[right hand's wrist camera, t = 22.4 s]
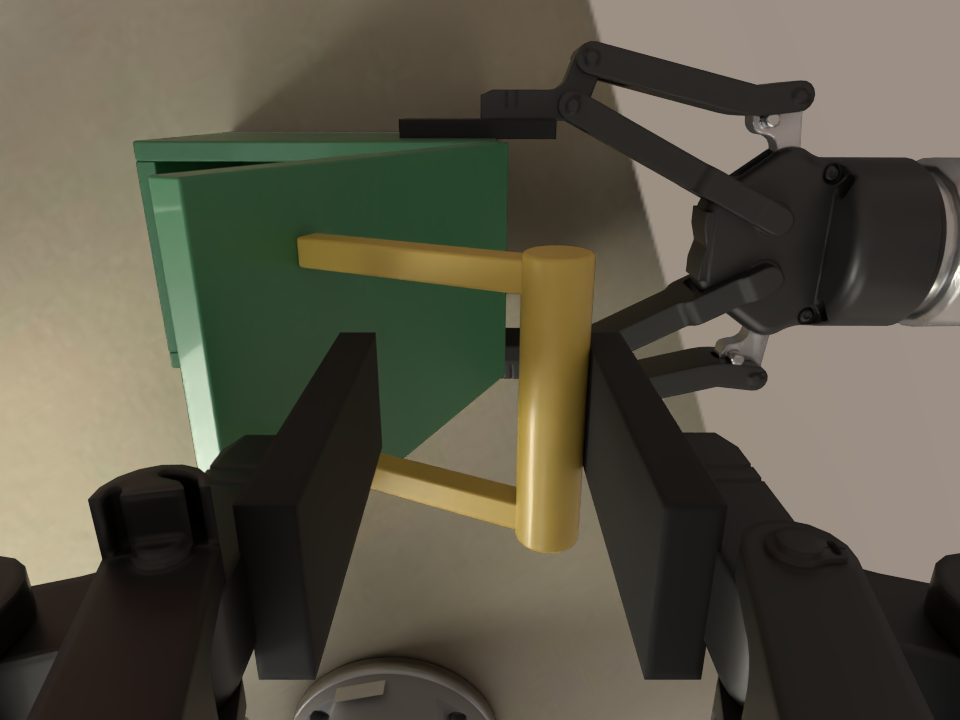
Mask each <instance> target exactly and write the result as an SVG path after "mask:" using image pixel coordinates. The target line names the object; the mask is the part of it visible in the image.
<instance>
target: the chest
mask: <svg viewBox="0 0 960 720" xmlns="http://www.w3.org/2000/svg"><path fill="white" fill-rule="evenodd" d="M483 142H497V140H496V139H495V138H400V137H399V132H223V133H216V134H205V135H194V136H183V137H173V138H162V139H151V140H140V141H134V142H133V146H134V152H135V158H136V161H137V162H136V166H137V171H138V177H139V183H140V188H141V194H142V200H143V206H144V211H145V217H146V223H147V229H148V234H149V240H150V246H151V251H152V257H153V263H154V269H155V274H156V280H157V286H158V292H159V297H160V303H161V309H162V314H163V320H164V326H165V332H166V337H167V343H168V349H169V351H170V358H171V364H172V367H173V368H180V362H179V356H178V350H177V344H176V339H175V333H174V327H173V321H172V315H171V309H170V303H169V297H168V291H167V286H166V280H165V274H164V268H163V262H162V256H161V250H160V244H159V238H158V232H157V227H156V221H155V215H154V209H153V203H152V197H151V191H150V185H149V179H148V178H149V176H151V175H156V174H166V173H177V172H187V171H197V170H207V169H217V168H228V167H238V166H248V165H258V164H268V163H279V162H289V161H299V160H309V159H319V158H330V157H340V156H350V155H360V154H370V153H381V152H391V151H401V150H411V149H421V148H432V147H442V146H452V145H462V144H472V143H483Z"/></svg>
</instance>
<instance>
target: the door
mask: <svg viewBox="0 0 960 720" xmlns="http://www.w3.org/2000/svg"><path fill="white" fill-rule="evenodd" d="M148 179H149V185H150V191H151V197H152V203H153V209H154V215H155V221H156V227H157V232H158V238H159V244H160V250H161V256H162V262H163V268H164V274H165V280H166V286H167V291H168V297H169V303H170V309H171V315H172V321H173V327H174V333H175V339H176V344H177V350H178V356H179V362H180V368H181V374H182V380H183V386H184V392H185V397H186V403H187V409H188V415H189V421H190V427H191V433H192V439H193V445H194V450H195V456H196V462H197V468H199V469H201V470H202V471H203V472H206V470H207V469H210V465H211V464H212V462H213V461H214V460H215V458H216V457H217V456H218V454H219V453H220V452H221V451H222V449H224V448H225V447H227V446H228V445H230V444H232V443H233V442H235V441H236V440H238V439H240V438H241V437H243V436H244V435H276V434H277V433H278V431H279V429H280V428H281V426H282V425H283V423H284V421H285V420H286V418H287V417H288V415H289V413H290V412H291V410H292V409H293V407H294V405H295V404H296V402H297V401H298V399H299V397H300V396H301V394H302V392H303V391H304V389H305V388H306V386H307V384H308V383H309V381H310V380H311V378H312V376H313V375H314V373H315V372H316V370H317V368H318V367H319V365H320V364H321V362H322V360H323V359H324V357H325V356H326V354H327V352H328V351H329V349H330V348H331V346H332V344H333V343H334V341H335V340H336V338H337V336H338V335H339V333H340V332H376V346H377V363H378V380H379V397H380V414H381V431H382V450H381V453H380V457H379V460H378V464H377V467H376V471H375V474H374V478H373V481H372V485H371V488H370V489H373V490H376V491H380V492H383V493H387V494H391V495H394V496H398V497H401V498H405V499H408V500H412V501H415V502H419V503H423V504H426V505H430V506H433V507H437V508H440V509H444V510H447V511H451V512H455V513H458V514H462V515H465V516H469V517H472V518H476V519H479V520H483V521H487V522H490V523H494V524H497V525H501V526H504V527H508V528H511V529H515V532H516V536H517V538H518V540H519V541H520V543H521V544H522V545H524V546H525V547H527V548H528V549H530V550H533V551H536V552H540V553H559V552H563V551H565V550H568V549H569V548H571V547H572V546H573V545H574V544H575V543H576V541H577V539H578V534H579V518H580V502H581V486H582V470H583V454H584V438H585V422H586V406H587V390H588V374H589V358H590V342H591V326H592V310H593V294H594V278H595V262H596V256H595V254H594V252H592V251H590V250H588V249H584V248H580V247H574V246H560V245H550V246H538V247H533V248H529V249H527V250H525V251H524V252H523V253H519V252H509V251H507V186H508V143H507V142H483V143H472V144H462V145H452V146H442V147H432V148H421V149H411V150H401V151H391V152H381V153H370V154H360V155H350V156H340V157H330V158H319V159H309V160H299V161H289V162H279V163H268V164H258V165H248V166H238V167H228V168H217V169H207V170H197V171H187V172H177V173H166V174H156V175H151V176H149V178H148ZM506 293H513V294H521V309H520V353H519V396H518V440H517V484H516V487H514V486H510V485H506V484H502V483H498V482H494V481H490V480H487V479H483V478H479V477H475V476H471V475H467V474H463V473H459V472H455V471H451V470H447V469H443V468H439V467H435V466H431V465H427V464H423V463H419V462H415V461H411V460H407V459H403V458H405V457H406V456H407V455H408V454H410V453H411V452H412V451H413V450H414V449H416V448H417V447H418V446H419V445H420V444H422V443H423V442H424V441H425V440H426V439H428V438H429V437H430V436H431V435H432V434H434V433H435V432H436V431H437V430H439V429H440V428H441V427H442V426H443V425H445V424H446V423H447V422H448V421H449V420H451V419H452V418H453V417H454V416H455V415H457V414H458V413H459V412H460V411H462V410H463V409H464V408H465V407H466V406H468V405H469V404H470V403H471V402H472V401H474V400H475V399H476V398H477V397H478V396H480V395H481V394H482V393H483V392H484V391H486V390H487V389H488V388H489V387H491V386H492V385H493V384H494V383H495V382H497V381H498V380H499V379H500V378H501V377H503V376H504V375H505V322H506Z"/></svg>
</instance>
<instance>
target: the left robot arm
mask: <svg viewBox="0 0 960 720" xmlns="http://www.w3.org/2000/svg"><path fill="white" fill-rule="evenodd" d="M597 81H601V82H604V83H608V84H612V85H616V86H619V87H623V88H627V89H631V90H635V91H638V92H642V93H646V94H649V95H653V96H657V97H661V98H664V99H668V100H672V101H676V102H680V103H683V104H687V105H691V106H695V107H698V108H702V109H706V110H710V111H713V112H717V113H722V114H727V115H742V116H745V125H746V127H747V129H748V130H749V131H750V132H751V133H754V134H760V135H762V136H764V137H765V138H766V139H767V141H768V144H769V149H767V150H766V151H764V152H763V153H761V154H760V155H758V156H757V157H755V158H754V159H752V160H751V161H749V162H748V163H746V164H745V165H743V166H742V167H740V168H739V169H737V170H736V171H735V172H733V173H732V174H730V175H727V174H726V173H724V172H722V171H720V170H719V169H717V168H715V167H713V166H710V165H708V164H706V163H705V162H703V161H701V160H699V159H698V158H696V157H694V156H692V155H691V154H689V153H687V152H685V151H684V150H682V149H680V148H678V147H677V146H675V145H673V144H671V143H670V142H668V141H666V140H664V139H663V138H661V137H659V136H657V135H656V134H654V133H652V132H650V131H649V130H647V129H645V128H643V127H642V126H640V125H638V124H636V123H635V122H633V121H631V120H629V119H628V118H626V117H624V116H622V115H621V114H619V113H617V112H615V111H614V110H612V109H610V108H608V107H607V106H605V105H603V104H602V103H600V102H598V101H596V100H595V99H593V98H591V95H592V92H593V90H594V87H595V85H596V82H597ZM814 97H815V90H814V87H813V86H812V84H811V83H809V82H807V81H790V82H778V83H769V84H760V85H755V84H752V83H748V82H744V81H741V80H737V79H733V78H730V77H726V76H722V75H718V74H715V73H711V72H707V71H704V70H700V69H696V68H692V67H689V66H685V65H682V64H678V63H674V62H671V61H667V60H663V59H659V58H656V57H652V56H648V55H645V54H641V53H637V52H633V51H630V50H626V49H623V48H619V47H615V46H611V45H607V44H604V43H600V42H597V41H590V42H587V43H585V44H583V45H582V46H580V47H579V48H577V49H576V50H575V51H574V52H573V54H572V56H571V60H570V63H569V66H568V69H567V71H566V74H565V77H564V79H563V81H562V82H561V84H560V85H559V86H558V87H556V88H555V89H552V90H491V91H489V92H487V93H484V94H482V95H481V119H399V137H400V138H495V139H556V124H557V121H565V122H567V123H569V124H571V125H573V126H574V127H576V128H578V129H580V130H581V131H583V132H585V133H587V134H589V135H590V136H592V137H594V138H596V139H598V140H599V141H601V142H603V143H605V144H606V145H608V146H610V147H612V148H614V149H615V150H617V151H619V152H621V153H622V154H624V155H626V156H628V157H630V158H631V159H633V160H635V161H637V162H638V163H640V164H642V165H644V166H646V167H647V168H649V169H651V170H653V171H655V172H656V173H658V174H660V175H662V176H663V177H665V178H667V179H669V180H670V181H672V182H674V183H676V184H677V185H679V186H680V187H682V188H684V189H686V190H688V191H689V192H691V193H693V194H695V195H696V196H698V197H700V198H701V199H700V201H699V203H698V205H697V206H693V213H692V229H693V235H694V241H693V243H692V246H691V248H690V251H689V254H688V258H687V266H686V271H687V272H688V273H689V275H687V276H685V277H683V278H681V279H678V280H676V281H674V282H672V283H671V284H669V285H668V286H667V288H666V289H665V290H663V291H661V292H659V293H657V294H655V295H653V296H651V297H648V298H646V299H644V300H642V301H640V302H638V303H636V304H634V305H632V306H629V307H627V308H625V309H623V310H621V311H619V312H617V313H615V314H613V315H610V316H608V317H606V318H604V319H602V320H600V321H598V322H596V323H594V324H592V326H591V332H620V333H621V335H622V336H623V338H624V339H625V341H626V343H627V344H628V346H629V348H630V349H631V351H634V350H636V349H638V348H640V347H642V346H645V345H647V344H649V343H651V342H653V341H655V340H658V339H660V338H662V337H664V336H666V335H668V334H671V333H673V332H675V331H677V330H679V329H681V328H684V327H686V326H695V325H700V324H702V323H705V322H707V321H709V320H711V319H713V318H716V317H718V316H720V315H722V314H724V313H727V314H728V315H729V316H731V317H732V318H733V319H735V320H736V321H737V322H738V323H740V324H741V325H742V328H741V330H740V332H739V333H738V334H736V335H735V336H732V337H727V338H723V339H719V340H718V341H717V342H716V345H715V347H697V348H691V349H686V350H681V351H677V352H672V353H667V354H663V355H658V356H653V357H649V358H644V359H640V360H638V362H639V364H640V365H641V367H642V368H643V370H644V372H645V373H646V375H647V376H648V378H649V380H650V381H651V383H652V384H653V386H654V388H655V389H656V391H657V392H658V394H659V396H660V397H661V398H666V397H670V396H675V395H680V394H685V393H689V392H694V391H699V390H704V389H708V388H713V387H725V388H734V389H743V390H758V389H760V388H762V387H763V386H764V385H765V384H766V382H767V377H768V376H767V373H766V371H765V370H764V369H763V368H762V367H761V362H762V358H763V355H764V351H765V348H766V344H767V341H768V337H769V335H771V334H774V333H777V332H779V331H781V330H783V329H785V328H787V327H791V326H795V325H815V326H888V325H893V324H896V323H899V324H901V325H906V326H960V158H923V159H920V160H918V161H915V160H913V159H909V158H869V157H867V158H866V157H864V158H862V157H817V156H815V155H813V154H811V153H809V152H808V151H806V150H805V149H803V148H800V143H801V124H802V111H804V110H806V109H807V108H808V107H810V105H811V104H812V102H813V101H814ZM519 353H520V328H505V375H504V376H503V377H501V378H504V379H510V378H512V379H519ZM245 720H248V719H247V718H246V717H245ZM293 720H495V717H494V715H493V712H492V710H491V708H490V707H489V705H488V703H487V702H486V700H485V699H484V698H483V697H482V695H481V694H480V693H479V692H478V691H477V690H476V689H475V688H474V687H473V686H472V685H470V684H469V683H468V682H467V681H465V680H464V679H462V678H461V677H459V676H458V675H456V674H454V673H452V672H450V671H448V670H446V669H444V668H442V667H439V666H436V665H434V664H431V663H427V662H424V661H419V660H414V659H407V658H395V657H384V658H372V659H366V660H361V661H357V662H353V663H350V664H347V665H344V666H341V667H339V668H337V669H335V670H333V671H331V672H329V673H328V674H326V675H324V676H323V677H322V678H320V679H319V680H318V681H317V682H315V683H314V684H313V685H312V686H311V687H310V688H309V689H308V691H307V692H306V693H305V694H304V696H303V697H302V699H301V701H300V703H299V705H298V707H297V710H296V712H295V715H294V719H293Z"/></svg>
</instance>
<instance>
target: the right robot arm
mask: <svg viewBox="0 0 960 720" xmlns="http://www.w3.org/2000/svg"><path fill="white" fill-rule="evenodd" d="M381 450H382V431H381V414H380V397H379V380H378V363H377V346H376V332H340V333H339V335H338V336H337V338H336V340H335V341H334V343H333V344H332V346H331V348H330V349H329V351H328V352H327V354H326V356H325V357H324V359H323V360H322V362H321V364H320V365H319V367H318V368H317V370H316V372H315V373H314V375H313V376H312V378H311V380H310V381H309V383H308V384H307V386H306V388H305V389H304V391H303V392H302V394H301V396H300V397H299V399H298V401H297V402H296V404H295V405H294V407H293V409H292V410H291V412H290V413H289V415H288V417H287V418H286V420H285V421H284V423H283V425H282V426H281V428H280V429H279V431H278V433H277V434H276V435H244V436H243V437H241V438H240V439H238V440H236V441H235V442H233V443H232V444H230V445H228V446H227V447H225V448H224V449H222V451H221V452H220V453H219V454H218V456H217V457H216V458H215V460H214V461H213V462H212V464H211V465H210V469H207V470H206V472H203V471H202V470H201V469H199V468H195V467H191V466H186V465H159V466H154V467H149V468H143V469H139V470H136V471H133V472H130V473H127V474H125V475H122V476H119V477H117V478H115V479H113V480H112V481H110V482H108V483H106V484H105V485H103V486H101V487H100V488H98V490H97V491H96V492H95V493H94V494H93V495H92V496H91V497H90V498H89V499H88V502H89V506H90V510H91V514H92V518H93V523H94V527H95V531H96V535H97V539H98V543H99V547H100V551H101V556H102V561H101V563H100V566H99V568H98V570H97V572H96V573H92V574H88V575H85V576H81V577H76V578H71V579H66V580H61V581H56V582H51V583H46V584H40V585H35V586H31V585H30V581H29V578H28V574H27V571H26V568H25V566H24V565H23V564H21V563H20V562H19V561H18V560H16V559H15V558H8V557H2V556H0V720H245V713H246V699H245V692H244V686H243V680H242V676H243V674H244V671H245V669H246V667H247V664H248V662H249V659H250V657H251V655H252V652H253V650H255V657H256V663H257V670H258V676H259V680H315V679H316V676H317V672H318V669H319V665H320V662H321V658H322V655H323V652H324V648H325V645H326V641H327V638H328V634H329V631H330V627H331V624H332V620H333V617H334V613H335V610H336V606H337V603H338V599H339V596H340V592H341V589H342V585H343V582H344V579H345V575H346V572H347V568H348V565H349V561H350V558H351V554H352V551H353V547H354V544H355V540H356V537H357V533H358V530H359V526H360V523H361V519H362V516H363V512H364V509H365V506H366V502H367V499H368V495H369V492H370V488H371V485H372V481H373V478H374V474H375V471H376V467H377V464H378V460H379V457H380V453H381ZM583 467H584V471H585V474H586V478H587V481H588V485H589V488H590V492H591V495H592V499H593V502H594V505H595V509H596V512H597V516H598V519H599V523H600V526H601V530H602V533H603V537H604V540H605V544H606V547H607V551H608V554H609V558H610V561H611V565H612V568H613V572H614V575H615V578H616V582H617V585H618V589H619V592H620V596H621V599H622V603H623V606H624V610H625V613H626V617H627V620H628V624H629V627H630V631H631V634H632V638H633V641H634V645H635V648H636V652H637V655H638V658H639V662H640V665H641V669H642V672H643V676H644V679H645V680H701V676H702V670H703V663H704V657H705V650H706V646H707V649H708V651H709V654H710V656H711V658H712V661H713V663H714V666H715V668H716V670H717V673H718V680H717V686H716V692H715V698H714V704H713V710H712V716H711V720H960V553H959V554H952V555H946V556H945V557H943V558H942V559H941V560H939V561H938V562H937V563H936V564H935V568H934V571H933V574H932V578H931V581H930V583H925V582H920V581H914V580H910V579H905V578H899V577H894V576H889V575H884V574H879V573H875V572H872V571H868V570H864V569H862V566H861V564H860V562H859V560H858V558H857V557H856V556H855V555H854V553H853V552H852V551H851V549H850V548H849V547H848V546H847V545H846V544H845V543H843V542H842V541H840V540H839V539H837V538H836V537H834V536H833V535H831V534H830V533H828V532H825V531H823V530H820V529H818V528H815V527H813V526H811V525H808V524H803V523H798V522H794V520H793V519H792V518H791V516H790V515H789V514H788V512H787V511H786V510H785V508H784V507H783V506H782V504H781V503H780V502H779V500H778V499H777V498H776V497H775V495H774V494H773V493H772V491H771V490H770V489H769V487H768V486H767V485H766V483H765V482H764V481H761V477H760V475H759V474H758V473H757V471H756V470H755V469H754V468H753V467H751V464H750V462H749V461H748V460H747V458H746V457H745V456H744V454H743V453H742V452H741V450H740V449H739V448H738V447H737V446H735V445H734V444H732V443H731V442H729V441H727V440H726V439H724V438H723V437H721V436H719V435H718V434H716V433H682V431H681V429H680V428H679V426H678V425H677V423H676V421H675V420H674V418H673V417H672V415H671V413H670V412H669V410H668V409H667V407H666V405H665V404H664V402H663V401H662V399H661V397H660V396H659V394H658V392H657V391H656V389H655V388H654V386H653V384H652V383H651V381H650V380H649V378H648V376H647V375H646V373H645V372H644V370H643V368H642V367H641V365H640V364H639V362H638V360H637V359H636V357H635V356H634V354H633V352H632V351H631V349H630V348H629V346H628V344H627V343H626V341H625V339H624V338H623V336H622V335H621V333H620V332H591V342H590V358H589V374H588V390H587V406H586V422H585V438H584V454H583Z"/></svg>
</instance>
